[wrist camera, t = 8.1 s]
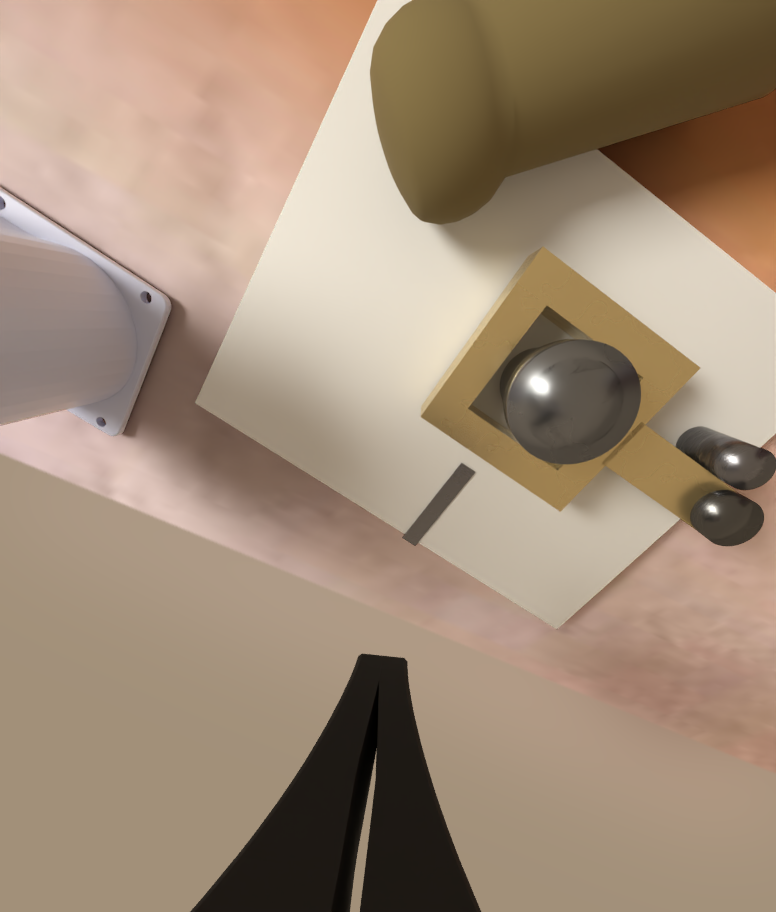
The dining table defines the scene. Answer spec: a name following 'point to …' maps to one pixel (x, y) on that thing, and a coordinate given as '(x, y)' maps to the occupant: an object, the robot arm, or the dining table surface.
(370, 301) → the board
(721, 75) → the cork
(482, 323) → the collar
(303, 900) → the robot arm
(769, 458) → the dark metal domed fitting
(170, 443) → the dining table surface
